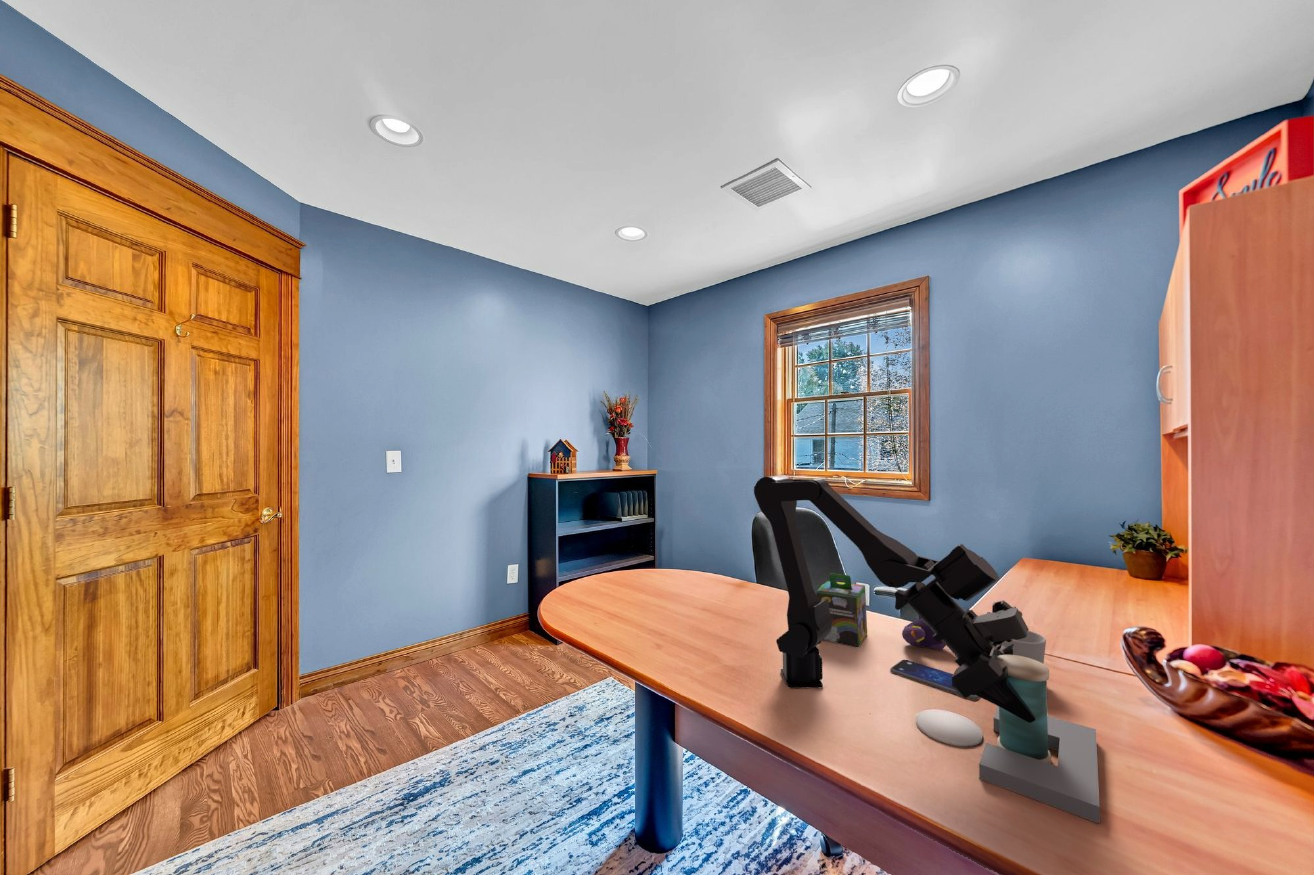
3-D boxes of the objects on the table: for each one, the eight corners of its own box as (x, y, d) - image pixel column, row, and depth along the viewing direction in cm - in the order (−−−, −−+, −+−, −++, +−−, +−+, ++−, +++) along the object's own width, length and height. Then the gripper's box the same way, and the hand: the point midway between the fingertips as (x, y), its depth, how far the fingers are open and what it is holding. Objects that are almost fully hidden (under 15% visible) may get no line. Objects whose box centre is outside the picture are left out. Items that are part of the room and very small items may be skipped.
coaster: (935, 746, 72) (935, 743, 72) (905, 712, 81) (905, 709, 81) (996, 746, 72) (996, 742, 72) (959, 712, 81) (959, 709, 81)
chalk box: (867, 634, 114) (866, 571, 114) (859, 648, 106) (857, 581, 106) (827, 626, 119) (826, 566, 119) (816, 639, 111) (815, 575, 112)
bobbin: (1017, 768, 67) (1015, 674, 67) (987, 740, 74) (985, 654, 74) (1062, 768, 67) (1060, 674, 67) (1029, 740, 73) (1027, 654, 74)
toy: (968, 658, 101) (968, 627, 101) (912, 660, 102) (911, 630, 101) (939, 633, 112) (938, 605, 112) (889, 635, 113) (888, 607, 112)
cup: (1048, 694, 86) (1047, 646, 86) (980, 679, 92) (979, 634, 92) (1045, 677, 92) (1044, 632, 92) (982, 663, 98) (981, 621, 98)
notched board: (979, 778, 66) (979, 763, 66) (998, 713, 81) (998, 701, 81) (1099, 823, 58) (1099, 806, 58) (1096, 742, 73) (1095, 729, 73)
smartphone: (903, 657, 101) (988, 684, 89) (903, 662, 100) (988, 689, 89) (887, 668, 96) (975, 697, 84) (888, 673, 96) (975, 703, 84)
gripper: (977, 604, 66) (1087, 714, 59) (995, 574, 80) (1086, 660, 73) (914, 646, 71) (1008, 753, 64) (942, 611, 85) (1022, 695, 78)
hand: (1034, 711), depth 70 cm, fingers closed on bobbin, 6 cm apart
